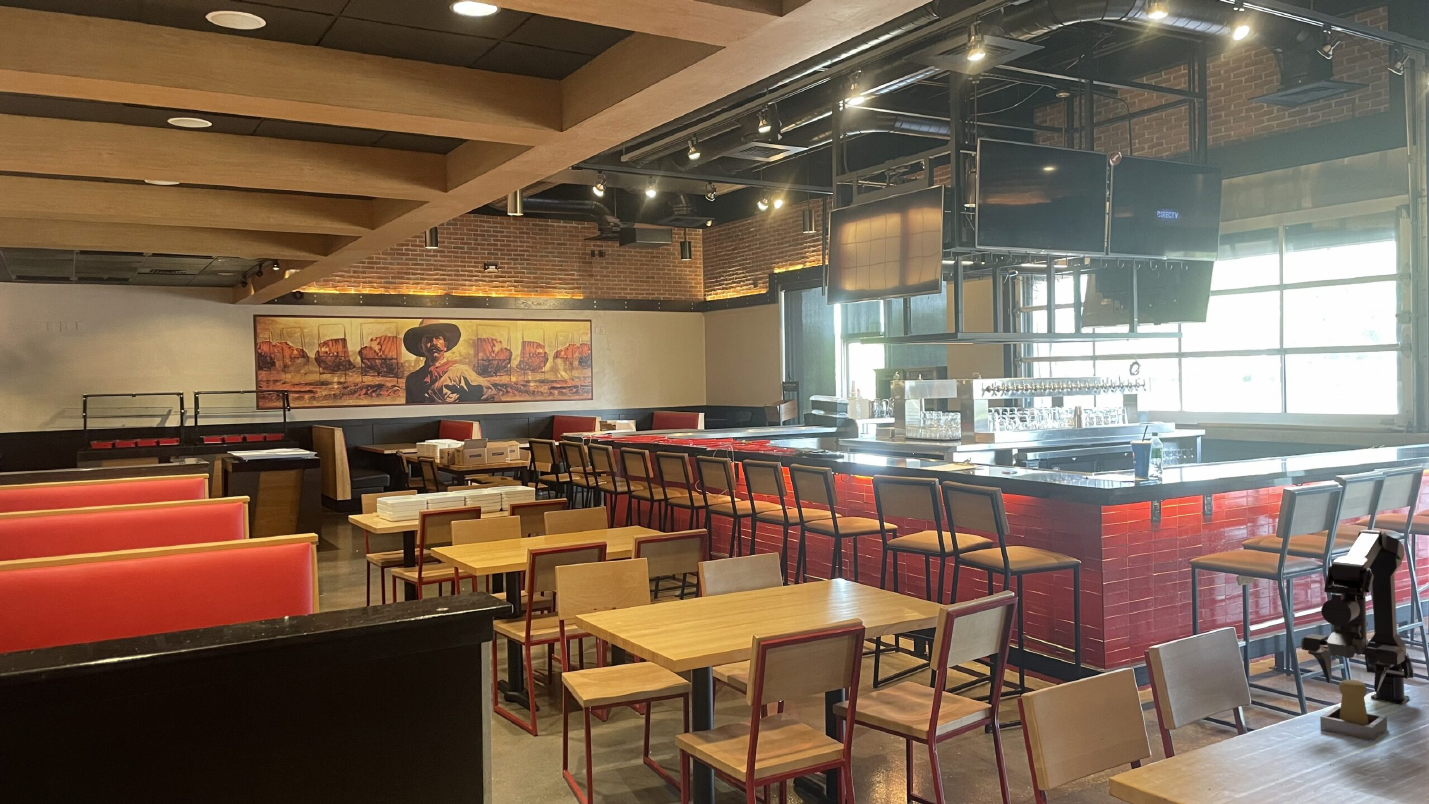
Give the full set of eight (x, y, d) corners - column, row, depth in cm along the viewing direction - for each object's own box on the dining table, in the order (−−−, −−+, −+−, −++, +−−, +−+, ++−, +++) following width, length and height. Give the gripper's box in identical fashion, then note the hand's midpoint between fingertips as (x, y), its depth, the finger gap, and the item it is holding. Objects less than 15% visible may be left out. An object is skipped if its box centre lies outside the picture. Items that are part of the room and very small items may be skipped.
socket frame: (1336, 719, 224) (1336, 706, 224) (1387, 729, 216) (1386, 716, 216) (1320, 729, 218) (1320, 716, 218) (1372, 741, 210) (1371, 727, 210)
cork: (1331, 728, 218) (1330, 679, 218) (1348, 723, 221) (1347, 675, 221) (1359, 736, 213) (1358, 686, 213) (1376, 731, 216) (1375, 682, 215)
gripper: (1291, 617, 219) (1292, 685, 219) (1388, 631, 204) (1389, 704, 204) (1309, 608, 226) (1311, 675, 226) (1404, 621, 211) (1406, 693, 212)
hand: (1352, 687), depth 217 cm, fingers open, 9 cm apart
